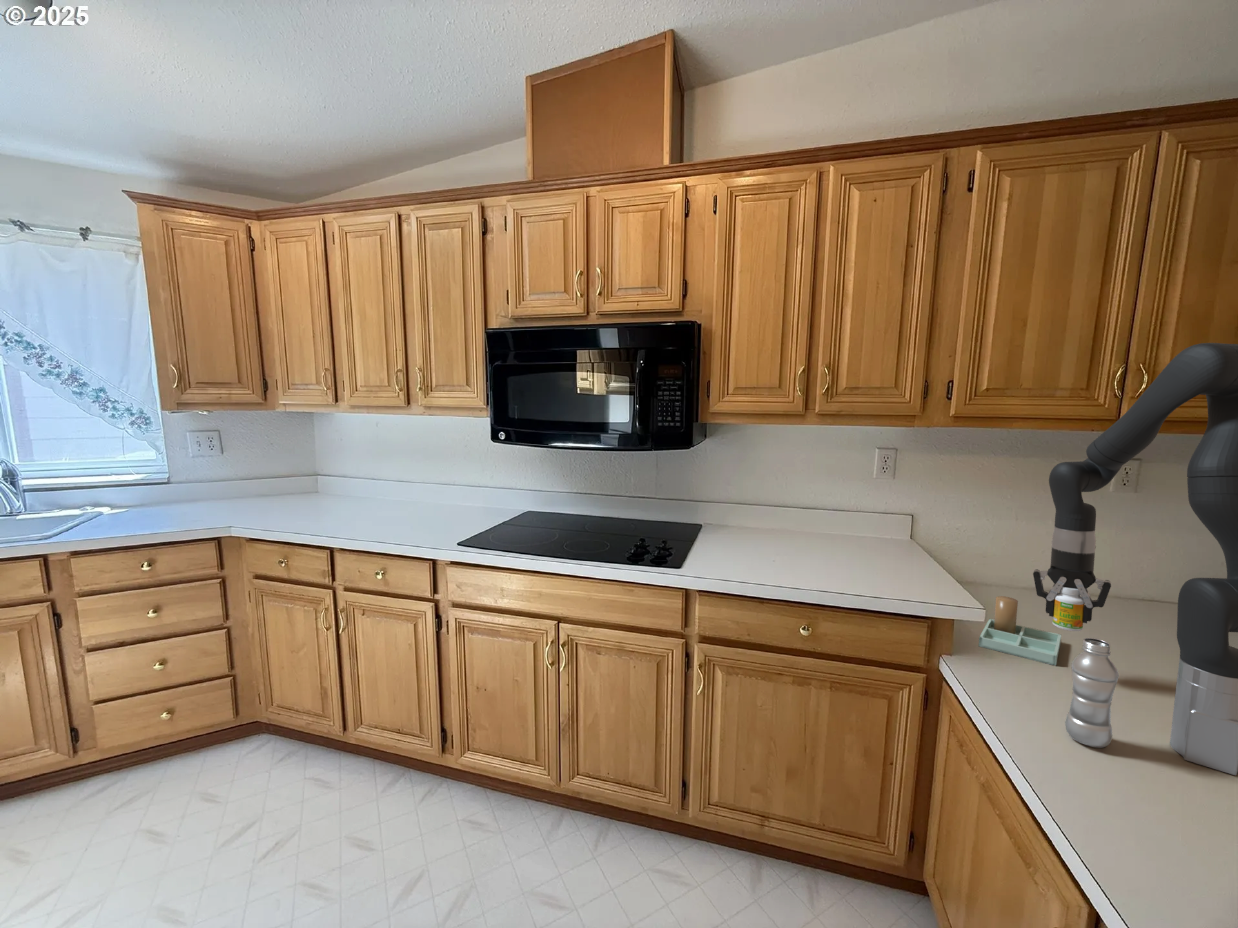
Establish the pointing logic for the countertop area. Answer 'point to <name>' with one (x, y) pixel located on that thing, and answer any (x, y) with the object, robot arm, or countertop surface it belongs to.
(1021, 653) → the tray
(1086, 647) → the plastic bottle
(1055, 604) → the supplement bottle
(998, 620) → the tan cylinder
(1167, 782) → the countertop surface
